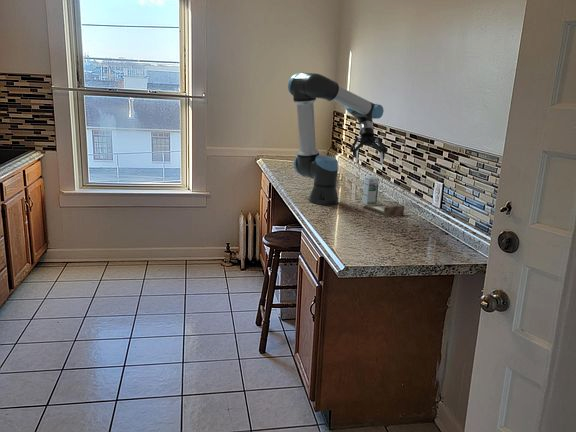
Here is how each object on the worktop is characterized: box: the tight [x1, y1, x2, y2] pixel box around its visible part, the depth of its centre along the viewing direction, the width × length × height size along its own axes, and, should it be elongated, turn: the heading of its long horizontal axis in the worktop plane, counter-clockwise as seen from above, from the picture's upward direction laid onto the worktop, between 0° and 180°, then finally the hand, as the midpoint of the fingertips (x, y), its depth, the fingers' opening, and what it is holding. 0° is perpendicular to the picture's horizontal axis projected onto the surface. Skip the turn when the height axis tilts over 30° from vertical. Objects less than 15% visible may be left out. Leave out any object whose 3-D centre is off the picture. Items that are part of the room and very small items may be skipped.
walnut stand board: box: [363, 203, 405, 217], centre depth 255 cm, size 12×16×4 cm
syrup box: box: [361, 175, 380, 206], centre depth 267 cm, size 6×6×14 cm
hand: (369, 162), depth 274 cm, fingers open, 13 cm apart
